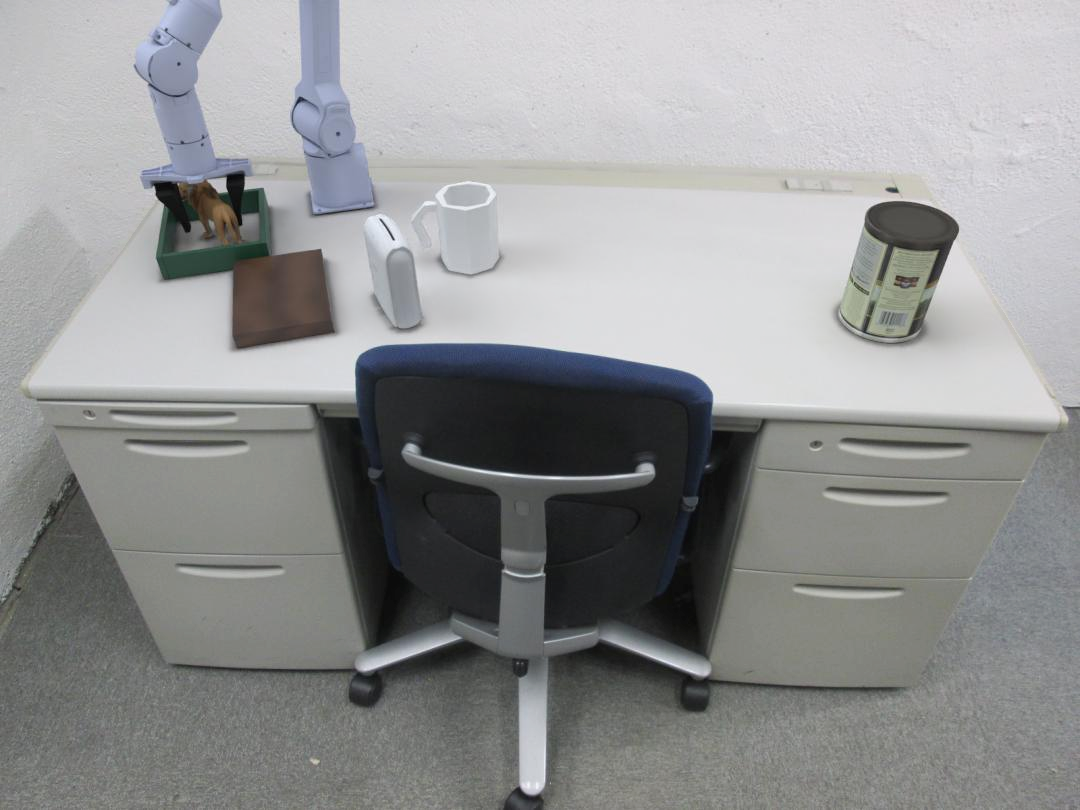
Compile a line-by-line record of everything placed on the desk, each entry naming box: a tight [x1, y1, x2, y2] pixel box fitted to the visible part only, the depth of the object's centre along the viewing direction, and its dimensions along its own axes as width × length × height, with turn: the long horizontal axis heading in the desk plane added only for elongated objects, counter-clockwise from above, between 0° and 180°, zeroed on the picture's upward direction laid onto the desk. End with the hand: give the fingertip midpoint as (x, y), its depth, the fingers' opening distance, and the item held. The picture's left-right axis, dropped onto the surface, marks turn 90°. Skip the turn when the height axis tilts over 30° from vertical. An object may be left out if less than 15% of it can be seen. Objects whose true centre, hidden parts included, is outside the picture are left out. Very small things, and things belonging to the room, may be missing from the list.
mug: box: [410, 180, 500, 276], centre depth 110 cm, size 12×9×10 cm
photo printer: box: [363, 213, 423, 329], centre depth 100 cm, size 10×4×12 cm, turn 26°
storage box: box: [155, 187, 272, 280], centre depth 116 cm, size 15×18×4 cm
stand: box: [231, 248, 335, 349], centre depth 104 cm, size 12×18×2 cm, turn 16°
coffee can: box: [837, 200, 960, 344], centre depth 96 cm, size 10×10×14 cm
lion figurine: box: [178, 180, 246, 246], centre depth 114 cm, size 15×5×9 cm, turn 50°
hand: (214, 226), depth 115 cm, fingers closed on lion figurine, 6 cm apart
